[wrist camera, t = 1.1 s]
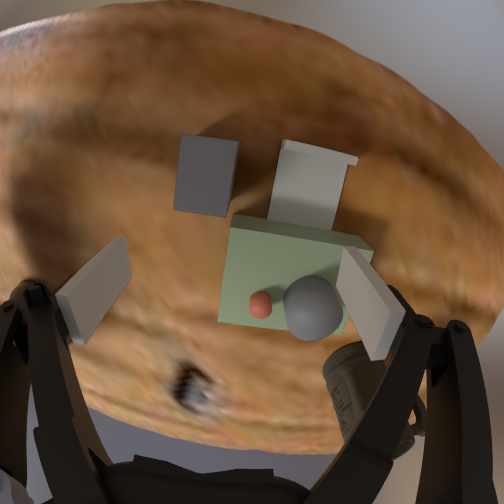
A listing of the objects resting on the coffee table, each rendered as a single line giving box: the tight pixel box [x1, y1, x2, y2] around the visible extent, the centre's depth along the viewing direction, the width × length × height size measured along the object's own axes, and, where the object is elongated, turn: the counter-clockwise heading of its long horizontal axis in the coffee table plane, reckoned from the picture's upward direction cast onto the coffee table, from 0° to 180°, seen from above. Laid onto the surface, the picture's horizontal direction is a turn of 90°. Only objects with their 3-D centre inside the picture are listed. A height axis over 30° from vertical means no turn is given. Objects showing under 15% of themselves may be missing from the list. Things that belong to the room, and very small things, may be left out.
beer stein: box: [323, 342, 426, 461], centre depth 34 cm, size 15×11×20 cm
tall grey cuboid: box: [173, 135, 241, 218], centre depth 26 cm, size 5×7×7 cm
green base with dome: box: [217, 139, 374, 341], centre depth 29 cm, size 16×22×9 cm
